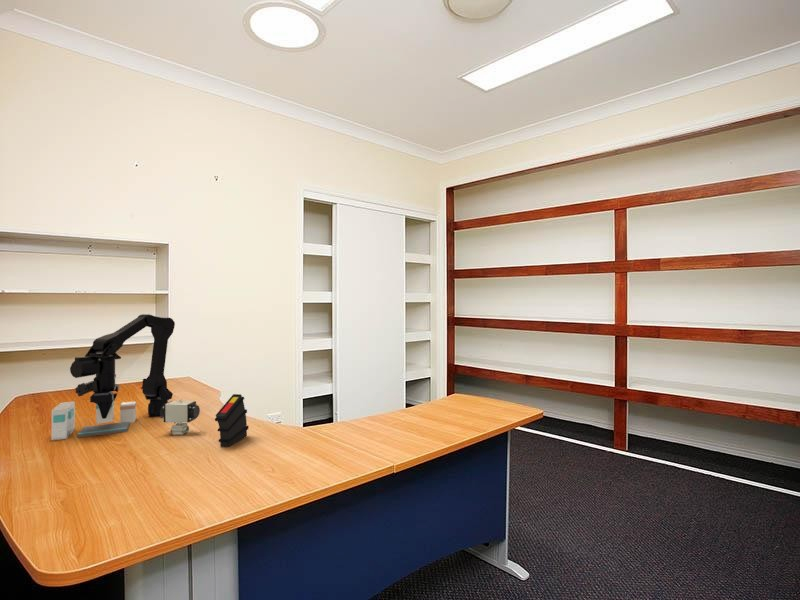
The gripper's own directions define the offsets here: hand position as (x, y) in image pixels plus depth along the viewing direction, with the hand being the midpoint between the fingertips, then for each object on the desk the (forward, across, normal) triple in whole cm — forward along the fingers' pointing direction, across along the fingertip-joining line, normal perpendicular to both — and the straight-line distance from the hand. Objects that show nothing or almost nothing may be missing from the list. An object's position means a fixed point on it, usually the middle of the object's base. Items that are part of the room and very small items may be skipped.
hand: (105, 416), depth 150 cm
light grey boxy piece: (+5, -10, +6) cm, 13 cm away
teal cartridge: (+2, 0, 0) cm, 2 cm away
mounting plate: (+5, 0, 0) cm, 5 cm away
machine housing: (+5, -1, -12) cm, 13 cm away
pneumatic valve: (+5, +16, +24) cm, 29 cm away
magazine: (+5, +34, +39) cm, 52 cm away
